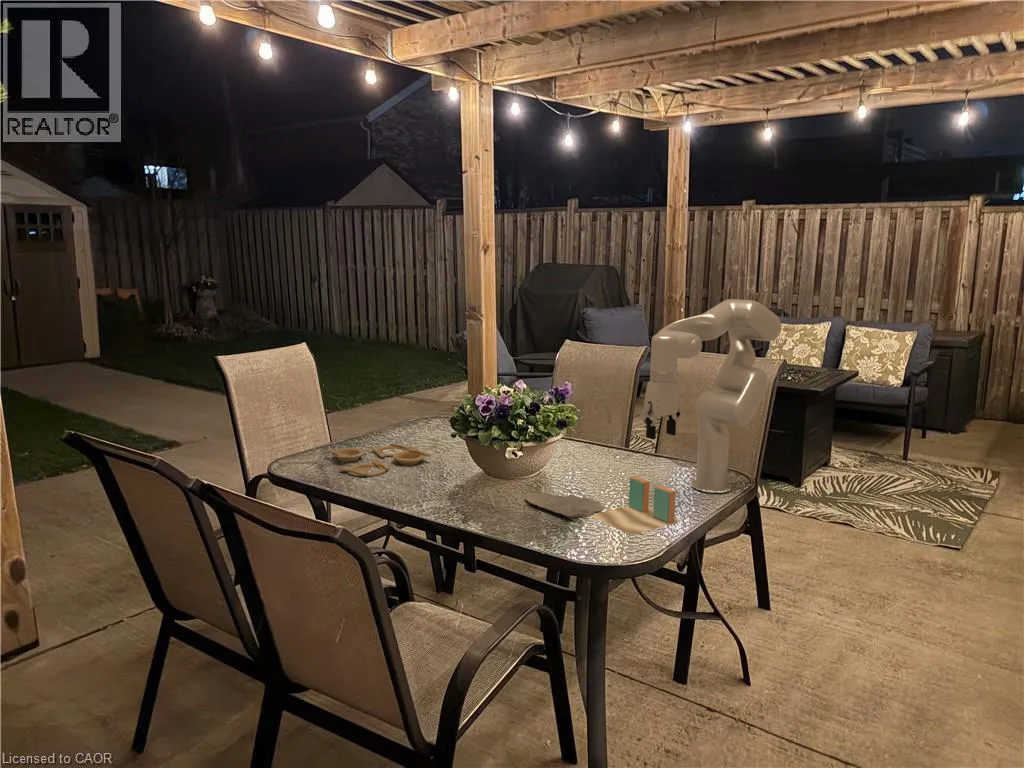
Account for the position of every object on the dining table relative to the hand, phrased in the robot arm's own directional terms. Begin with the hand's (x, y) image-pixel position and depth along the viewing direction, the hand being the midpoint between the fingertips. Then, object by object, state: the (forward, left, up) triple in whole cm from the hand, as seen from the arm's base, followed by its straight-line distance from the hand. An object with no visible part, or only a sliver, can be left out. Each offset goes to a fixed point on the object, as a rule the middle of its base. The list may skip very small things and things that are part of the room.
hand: (660, 436), depth 210 cm
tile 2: (+8, +10, -21) cm, 24 cm away
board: (+14, +5, -22) cm, 26 cm away
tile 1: (+8, 0, -21) cm, 22 cm away
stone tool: (+24, -16, -22) cm, 36 cm away
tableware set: (+50, -89, -22) cm, 104 cm away
